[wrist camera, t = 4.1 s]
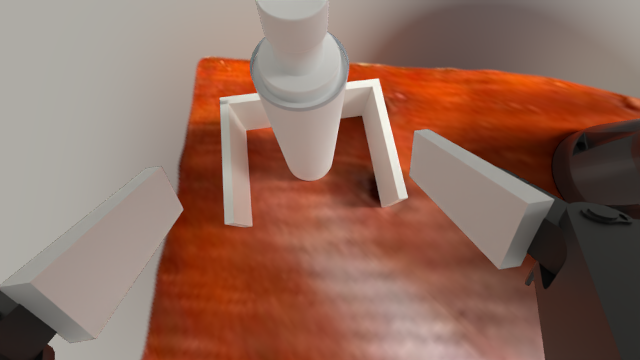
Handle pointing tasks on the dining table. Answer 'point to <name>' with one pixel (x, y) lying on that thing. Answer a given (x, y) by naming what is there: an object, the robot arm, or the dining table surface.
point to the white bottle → (301, 82)
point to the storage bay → (251, 115)
